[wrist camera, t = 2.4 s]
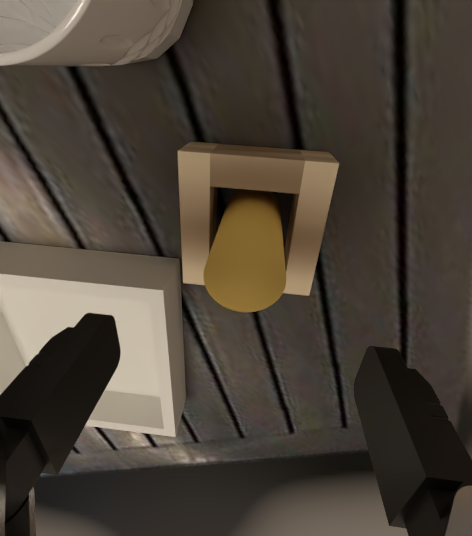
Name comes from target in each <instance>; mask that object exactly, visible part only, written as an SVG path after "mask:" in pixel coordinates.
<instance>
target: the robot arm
mask: <svg viewBox="0 0 472 536" xmlns="http://www.w3.org/2000/svg"><path fill="white" fill-rule="evenodd" d="M120 354H121V350H120V344H119V338H118V333H117V328H116V322H115V318H114V317H113V316H112V315H105V314H97V313H86V314H85V315H84V316H83V317H82V318H81V320H80V321H79V322H78V323H77V324H76V326H75V327H74V328H73V327H67V328H66V329H64V330H62V331H61V332H59V333H58V334H56V335H55V336H53V337H52V338H51V339H50V340H49V341H48V342H47V343H46V344H45V345H44V346H43V348H42V349H41V350H40V351H39V354H36V355H35V357H34V358H33V359H32V360H31V361H30V362H29V365H28V366H26V367H25V368H24V369H23V370H22V371H21V372H20V373H19V374H18V376H17V377H16V378H15V379H14V380H13V381H12V382H11V383H10V385H9V386H8V387H7V388H6V389H5V390H4V391H3V392H2V393H1V395H0V536H36V526H35V500H34V488H33V486H34V484H35V483H36V481H37V479H38V478H39V476H40V474H41V473H47V474H54V475H58V473H59V471H60V469H61V468H62V466H63V464H64V462H65V460H66V459H67V457H68V455H69V453H70V451H71V450H72V448H73V446H74V444H75V442H76V441H77V439H78V437H79V435H80V433H81V432H82V430H83V428H84V426H85V424H86V423H87V421H88V419H89V417H90V415H91V414H92V412H93V410H94V408H95V407H96V405H97V403H98V401H99V399H100V398H101V396H102V394H103V392H104V390H105V389H106V387H107V385H108V383H109V381H110V380H111V378H112V376H113V374H114V372H115V371H116V369H117V367H118V364H119V360H120ZM354 397H355V402H356V405H357V409H358V413H359V416H360V420H361V424H362V427H363V431H364V435H365V438H366V442H367V446H368V449H369V453H370V457H371V460H372V464H373V468H374V471H375V475H376V479H377V483H378V486H379V490H380V494H381V497H382V501H383V505H384V508H385V512H386V516H387V519H388V523H389V526H395V527H401V528H406V529H407V532H408V535H409V536H472V460H471V458H470V456H469V454H468V452H467V450H466V449H465V447H464V445H463V443H462V441H461V439H460V438H459V436H458V434H457V432H456V430H455V428H454V427H453V425H452V423H451V421H449V420H448V416H447V414H446V412H445V410H444V408H443V406H441V405H440V401H439V399H438V397H437V395H436V394H435V392H434V390H433V388H432V386H431V385H430V384H429V383H428V382H427V381H426V379H425V378H424V377H423V376H422V375H421V374H420V373H419V372H418V371H417V370H416V369H410V368H407V366H406V364H405V362H404V360H403V358H402V356H401V354H400V352H399V351H398V350H397V349H392V348H384V347H375V346H369V347H368V348H367V350H366V353H365V355H364V358H363V360H362V363H361V365H360V368H359V370H358V373H357V375H356V378H355V382H354Z"/></svg>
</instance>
